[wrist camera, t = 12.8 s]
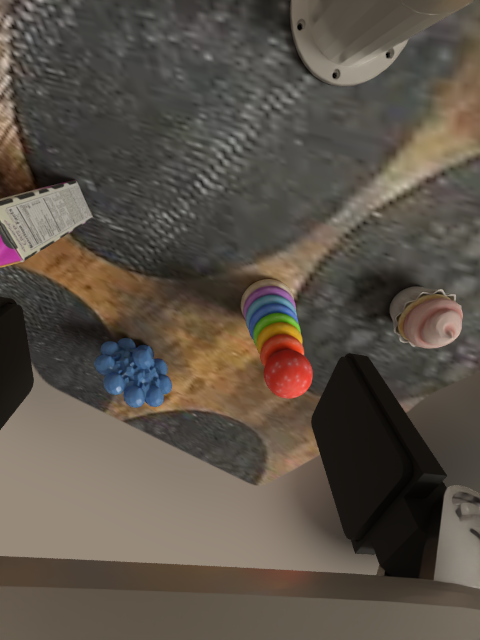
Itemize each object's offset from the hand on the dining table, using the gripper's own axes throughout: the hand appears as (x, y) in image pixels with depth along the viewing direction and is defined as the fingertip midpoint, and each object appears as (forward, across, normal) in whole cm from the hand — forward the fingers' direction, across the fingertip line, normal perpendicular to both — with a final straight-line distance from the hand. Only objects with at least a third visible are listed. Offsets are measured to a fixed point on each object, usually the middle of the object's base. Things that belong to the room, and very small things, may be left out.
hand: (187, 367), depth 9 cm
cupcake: (+34, -32, +9) cm, 47 cm away
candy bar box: (+34, +21, +6) cm, 40 cm away
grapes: (+34, +7, +24) cm, 42 cm away
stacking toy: (+34, -10, +13) cm, 37 cm away
